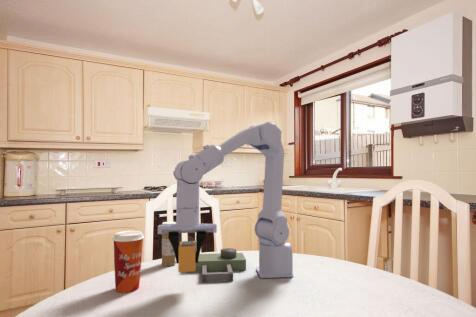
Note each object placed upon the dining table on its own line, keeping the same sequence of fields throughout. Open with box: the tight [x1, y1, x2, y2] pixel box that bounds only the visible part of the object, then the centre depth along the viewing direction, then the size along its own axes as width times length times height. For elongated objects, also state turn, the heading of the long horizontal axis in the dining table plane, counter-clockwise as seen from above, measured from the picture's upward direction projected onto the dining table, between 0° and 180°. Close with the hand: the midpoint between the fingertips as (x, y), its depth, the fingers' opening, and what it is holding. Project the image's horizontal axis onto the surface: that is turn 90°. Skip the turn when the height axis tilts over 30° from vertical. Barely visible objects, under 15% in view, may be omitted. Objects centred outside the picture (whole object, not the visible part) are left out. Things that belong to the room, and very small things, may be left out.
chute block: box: [177, 240, 196, 273], centre depth 74 cm, size 4×5×6 cm
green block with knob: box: [189, 247, 247, 283], centre depth 88 cm, size 18×17×5 cm
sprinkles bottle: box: [161, 221, 177, 267], centre depth 94 cm, size 5×5×13 cm
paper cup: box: [112, 230, 145, 294], centre depth 75 cm, size 8×8×14 cm
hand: (187, 261), depth 73 cm, fingers closed on chute block, 4 cm apart
